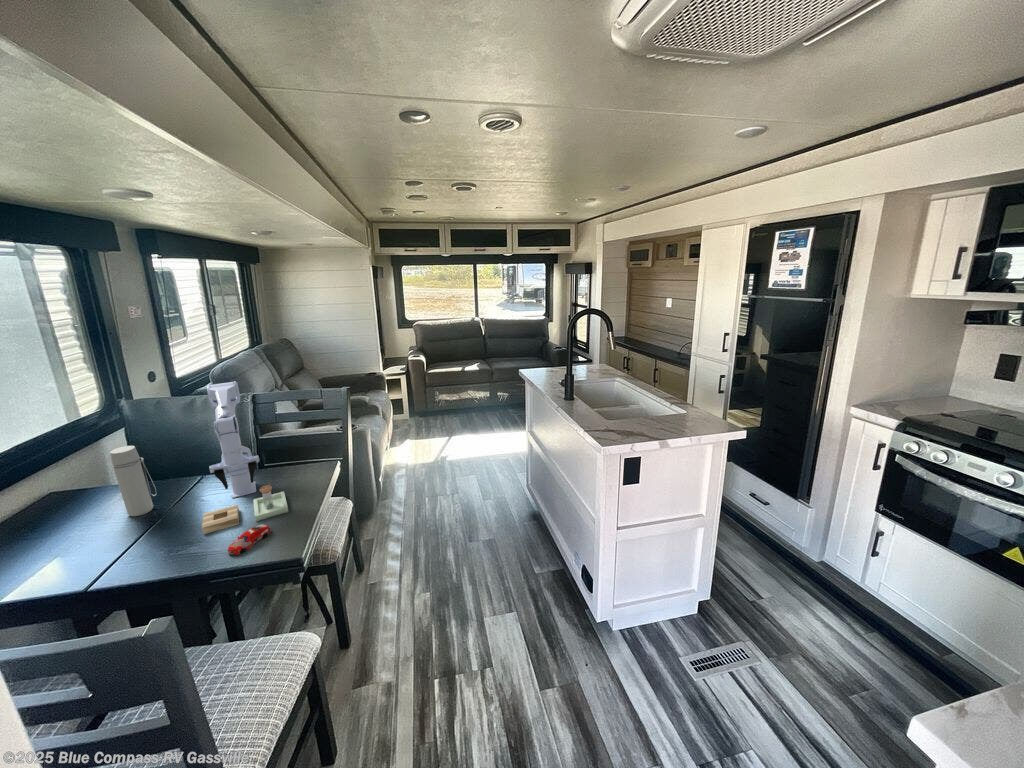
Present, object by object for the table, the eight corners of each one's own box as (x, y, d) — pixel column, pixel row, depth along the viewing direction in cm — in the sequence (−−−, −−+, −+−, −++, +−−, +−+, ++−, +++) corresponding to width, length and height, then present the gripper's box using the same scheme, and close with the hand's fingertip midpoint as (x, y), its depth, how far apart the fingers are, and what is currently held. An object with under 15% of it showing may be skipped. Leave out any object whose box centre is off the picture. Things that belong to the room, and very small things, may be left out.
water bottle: (127, 520, 144) (107, 456, 137) (128, 511, 150) (108, 449, 143) (161, 510, 150) (143, 448, 143) (160, 501, 155) (143, 441, 149)
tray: (254, 504, 153) (253, 499, 152) (284, 495, 158) (283, 491, 158) (255, 521, 142) (254, 516, 142) (288, 511, 148) (287, 506, 147)
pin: (263, 506, 150) (259, 487, 148) (274, 503, 152) (271, 484, 150) (263, 511, 147) (259, 491, 145) (275, 507, 149) (271, 488, 147)
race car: (236, 559, 124) (233, 548, 123) (224, 555, 126) (221, 544, 125) (274, 533, 136) (272, 523, 135) (262, 529, 138) (260, 519, 137)
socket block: (205, 519, 144) (203, 513, 143) (238, 510, 149) (237, 504, 148) (203, 534, 136) (201, 527, 135) (239, 524, 141) (237, 517, 140)
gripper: (205, 459, 136) (214, 495, 139) (256, 448, 143) (263, 483, 147) (206, 452, 141) (215, 487, 145) (255, 442, 149) (262, 475, 153)
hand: (239, 484), depth 146 cm, fingers open, 7 cm apart
